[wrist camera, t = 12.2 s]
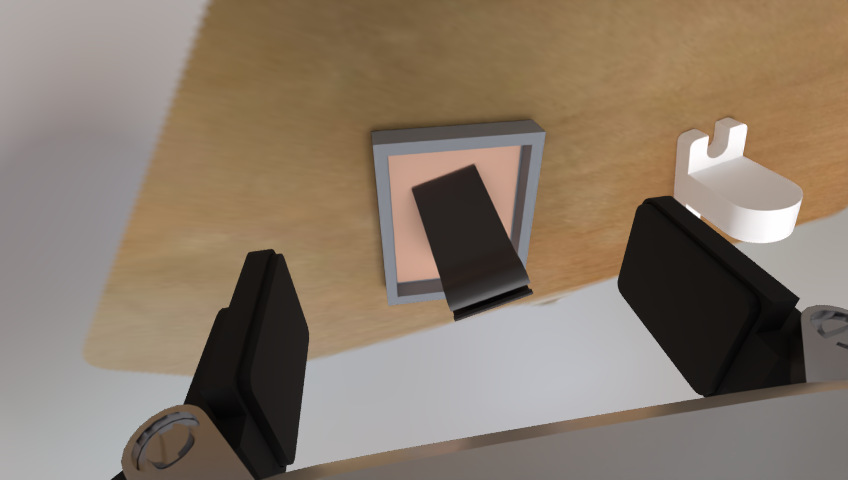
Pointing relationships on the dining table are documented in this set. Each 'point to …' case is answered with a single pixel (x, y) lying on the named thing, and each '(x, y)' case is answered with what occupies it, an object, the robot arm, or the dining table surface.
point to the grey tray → (440, 156)
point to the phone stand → (470, 244)
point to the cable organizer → (734, 186)
